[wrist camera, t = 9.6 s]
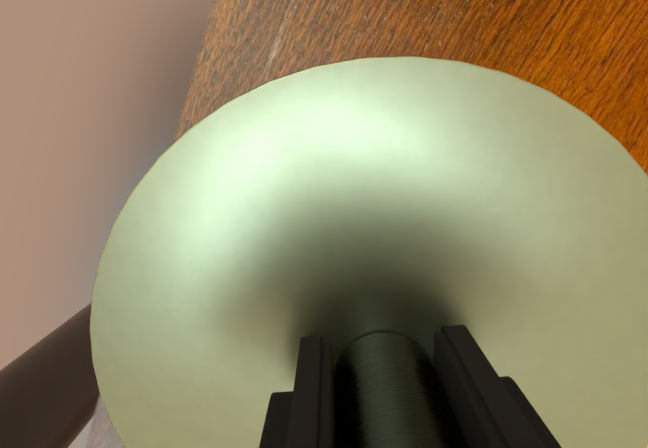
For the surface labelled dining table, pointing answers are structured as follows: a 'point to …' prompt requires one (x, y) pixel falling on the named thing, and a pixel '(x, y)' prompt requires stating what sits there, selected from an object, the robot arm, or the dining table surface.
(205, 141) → the lid
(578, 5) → the dining table surface
